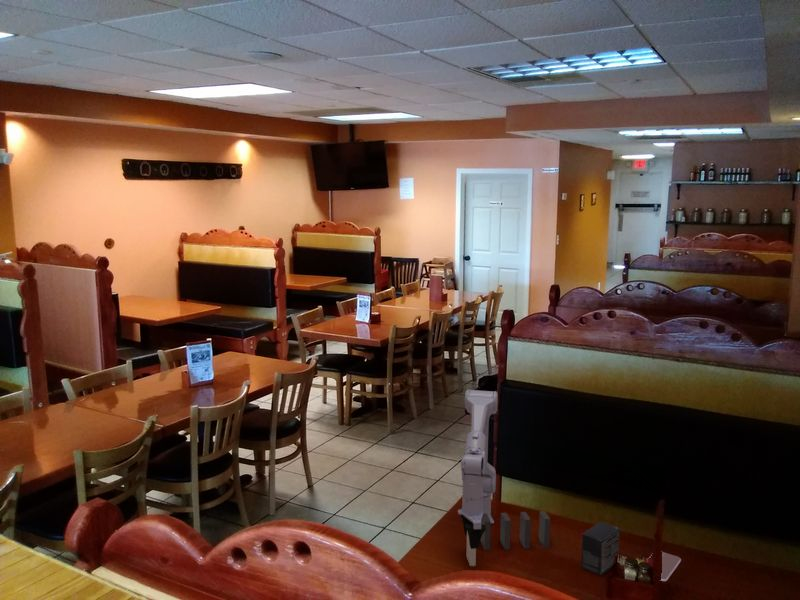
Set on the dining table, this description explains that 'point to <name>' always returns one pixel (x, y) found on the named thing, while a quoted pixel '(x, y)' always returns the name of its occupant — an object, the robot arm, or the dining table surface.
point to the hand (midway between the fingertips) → (471, 541)
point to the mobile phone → (668, 565)
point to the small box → (600, 547)
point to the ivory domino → (470, 553)
